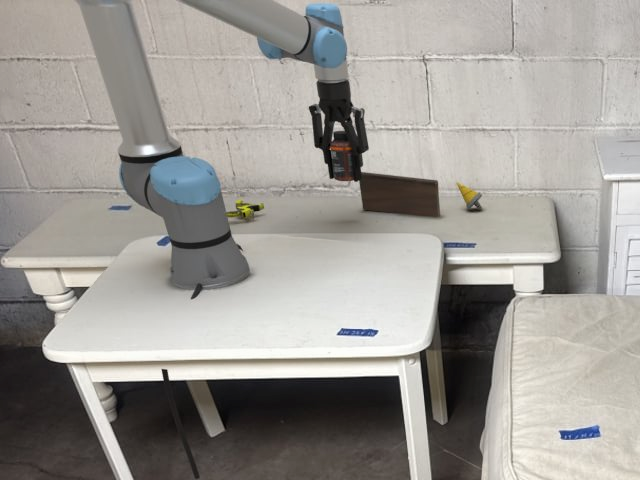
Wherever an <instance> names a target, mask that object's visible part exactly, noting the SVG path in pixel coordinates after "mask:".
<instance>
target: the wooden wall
mask: <svg viewBox="0 0 640 480" xmlns="http://www.w3.org/2000/svg"><path fill="white" fill-rule="evenodd" d="M361 174H362V179H361V180H359V181H358V183H359V189H360V190H359V191H360V197H361V204H362V205H361V206H362V210H363V211H364V210H366V211H371V212H372V211H374V212H381V213H382V212H383V213H390V214H397V215H408V216H418V217H432V218H439V217H440V216H441V209H440V208H441V206H440V194H439V181H438V180H437V179H429V178H419V177H411V176H404V175H403V176H402V175H392V174H384V173H376V172H366V171H361Z"/></svg>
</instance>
